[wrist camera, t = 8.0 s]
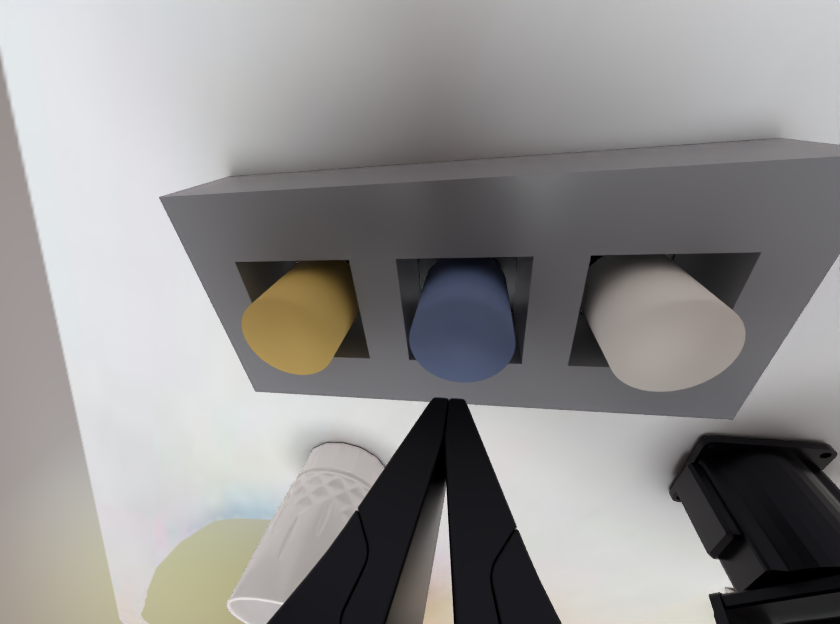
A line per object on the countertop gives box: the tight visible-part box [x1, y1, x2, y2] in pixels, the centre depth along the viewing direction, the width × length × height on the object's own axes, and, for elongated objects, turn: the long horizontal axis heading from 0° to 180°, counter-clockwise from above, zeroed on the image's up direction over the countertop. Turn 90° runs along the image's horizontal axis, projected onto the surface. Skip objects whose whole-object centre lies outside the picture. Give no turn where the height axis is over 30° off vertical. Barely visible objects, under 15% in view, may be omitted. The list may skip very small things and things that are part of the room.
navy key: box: [409, 257, 515, 383], centre depth 13 cm, size 4×4×4 cm
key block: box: [159, 138, 840, 420], centre depth 14 cm, size 22×10×4 cm, turn 95°
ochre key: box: [242, 260, 360, 375], centre depth 14 cm, size 4×4×4 cm
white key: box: [580, 254, 746, 392], centre depth 12 cm, size 4×4×4 cm
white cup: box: [226, 443, 385, 624], centre depth 23 cm, size 8×8×10 cm
